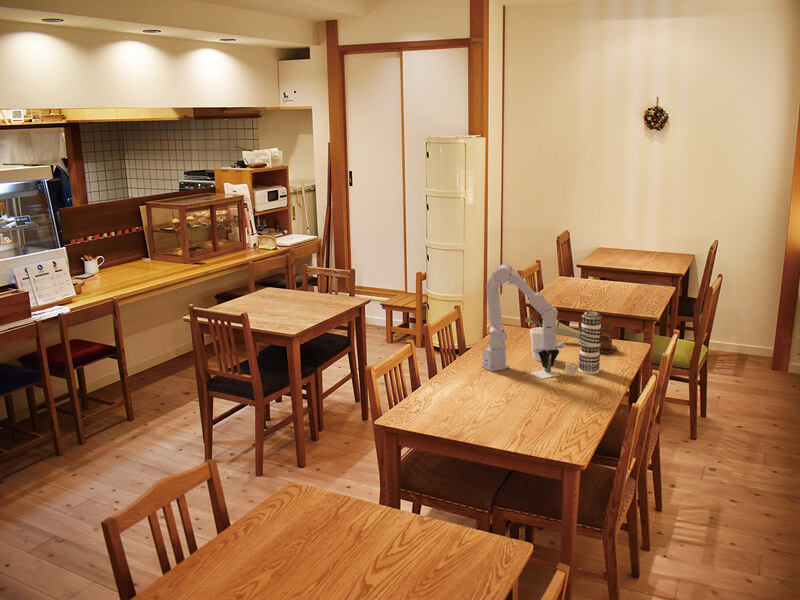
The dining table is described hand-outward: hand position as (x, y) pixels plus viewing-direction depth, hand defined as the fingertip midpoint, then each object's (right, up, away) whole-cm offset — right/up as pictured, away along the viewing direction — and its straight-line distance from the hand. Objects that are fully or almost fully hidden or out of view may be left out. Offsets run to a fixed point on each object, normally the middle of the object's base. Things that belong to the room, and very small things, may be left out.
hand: (547, 366), depth 296 cm
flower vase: (+15, +8, +41) cm, 45 cm away
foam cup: (0, +2, +17) cm, 17 cm away
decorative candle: (+17, -2, +2) cm, 18 cm away
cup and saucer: (+31, +4, +27) cm, 41 cm away
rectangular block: (+9, -3, -3) cm, 9 cm away
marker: (0, -2, 0) cm, 2 cm away
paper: (-2, -3, -2) cm, 4 cm away
